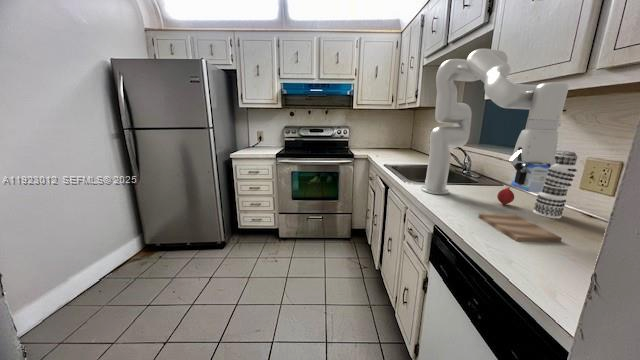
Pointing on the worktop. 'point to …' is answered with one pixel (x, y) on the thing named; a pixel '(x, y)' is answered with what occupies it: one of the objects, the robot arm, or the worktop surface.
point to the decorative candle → (556, 185)
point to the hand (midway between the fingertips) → (527, 183)
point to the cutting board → (519, 228)
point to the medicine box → (533, 177)
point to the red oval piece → (505, 196)
